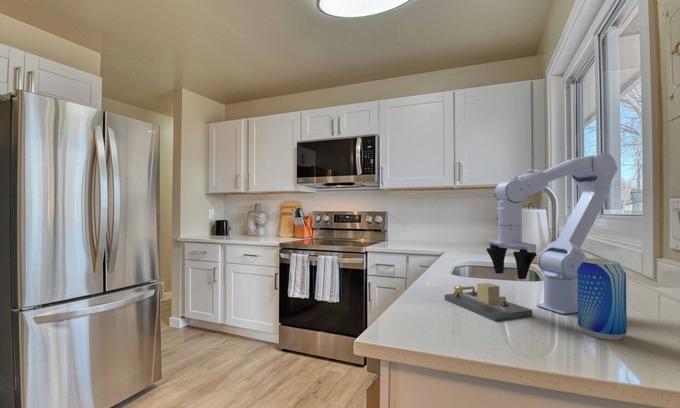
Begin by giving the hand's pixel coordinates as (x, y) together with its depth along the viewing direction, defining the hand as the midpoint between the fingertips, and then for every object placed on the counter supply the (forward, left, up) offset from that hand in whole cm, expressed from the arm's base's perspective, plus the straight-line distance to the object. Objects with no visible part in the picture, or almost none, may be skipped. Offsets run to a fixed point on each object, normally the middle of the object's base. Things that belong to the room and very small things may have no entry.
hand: (510, 275), depth 89 cm
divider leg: (+4, -1, -7) cm, 9 cm away
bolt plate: (+4, -5, -9) cm, 11 cm away
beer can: (-6, +19, -10) cm, 22 cm away
